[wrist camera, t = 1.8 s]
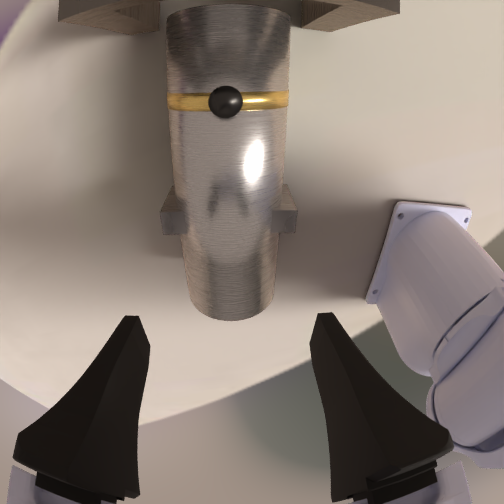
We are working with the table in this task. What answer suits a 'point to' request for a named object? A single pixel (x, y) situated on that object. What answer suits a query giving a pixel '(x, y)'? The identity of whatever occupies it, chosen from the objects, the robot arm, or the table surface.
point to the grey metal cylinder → (228, 152)
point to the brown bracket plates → (148, 6)
